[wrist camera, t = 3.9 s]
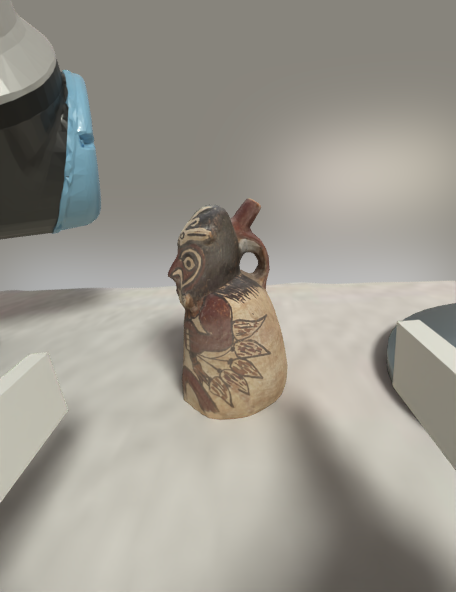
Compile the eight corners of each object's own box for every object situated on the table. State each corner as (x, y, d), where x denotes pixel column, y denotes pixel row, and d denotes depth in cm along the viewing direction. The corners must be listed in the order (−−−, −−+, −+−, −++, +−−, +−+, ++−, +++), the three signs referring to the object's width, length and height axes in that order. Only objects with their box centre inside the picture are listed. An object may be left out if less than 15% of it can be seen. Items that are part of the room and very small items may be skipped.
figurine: (184, 364, 25) (156, 206, 21) (273, 350, 26) (261, 193, 22) (182, 429, 18) (140, 216, 14) (302, 408, 19) (294, 198, 15)
